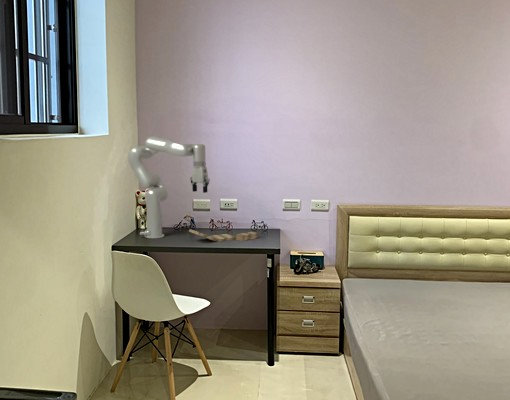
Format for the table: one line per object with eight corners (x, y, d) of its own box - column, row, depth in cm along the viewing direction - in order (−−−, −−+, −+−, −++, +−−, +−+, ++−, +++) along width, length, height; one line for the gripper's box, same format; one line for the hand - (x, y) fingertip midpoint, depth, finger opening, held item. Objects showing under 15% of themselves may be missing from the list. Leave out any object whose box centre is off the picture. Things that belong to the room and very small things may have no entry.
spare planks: (242, 240, 360) (242, 235, 359) (235, 239, 364) (235, 234, 364) (259, 237, 370) (259, 233, 370) (252, 236, 375) (252, 231, 374)
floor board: (217, 241, 357) (217, 239, 356) (207, 238, 366) (207, 236, 366) (236, 239, 364) (236, 236, 364) (226, 236, 374) (226, 233, 374)
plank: (198, 234, 348) (198, 232, 348) (188, 231, 358) (189, 229, 358) (216, 241, 356) (217, 239, 356) (206, 238, 366) (207, 235, 366)
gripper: (213, 164, 351) (213, 192, 353) (194, 163, 362) (195, 190, 364) (204, 165, 345) (204, 193, 347) (185, 164, 357) (186, 191, 359)
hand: (199, 191), depth 356 cm, fingers open, 9 cm apart
